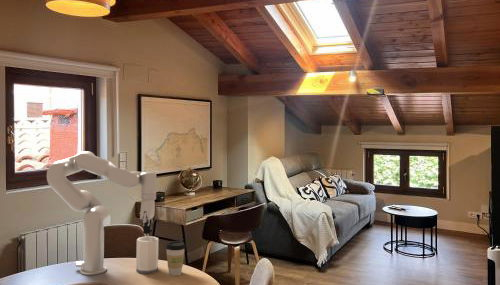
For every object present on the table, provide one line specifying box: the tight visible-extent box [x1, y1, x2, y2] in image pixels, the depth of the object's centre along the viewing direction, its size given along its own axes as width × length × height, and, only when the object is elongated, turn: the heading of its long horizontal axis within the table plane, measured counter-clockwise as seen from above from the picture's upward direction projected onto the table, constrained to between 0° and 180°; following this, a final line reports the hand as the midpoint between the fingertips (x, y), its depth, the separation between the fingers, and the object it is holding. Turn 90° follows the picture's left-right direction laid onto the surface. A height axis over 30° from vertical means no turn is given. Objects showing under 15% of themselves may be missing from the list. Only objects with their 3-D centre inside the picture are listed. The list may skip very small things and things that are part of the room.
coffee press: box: [135, 235, 159, 275], centre depth 213 cm, size 11×13×16 cm
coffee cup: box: [165, 240, 187, 277], centre depth 208 cm, size 10×10×15 cm
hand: (147, 232), depth 211 cm, fingers closed on plunger, 3 cm apart
